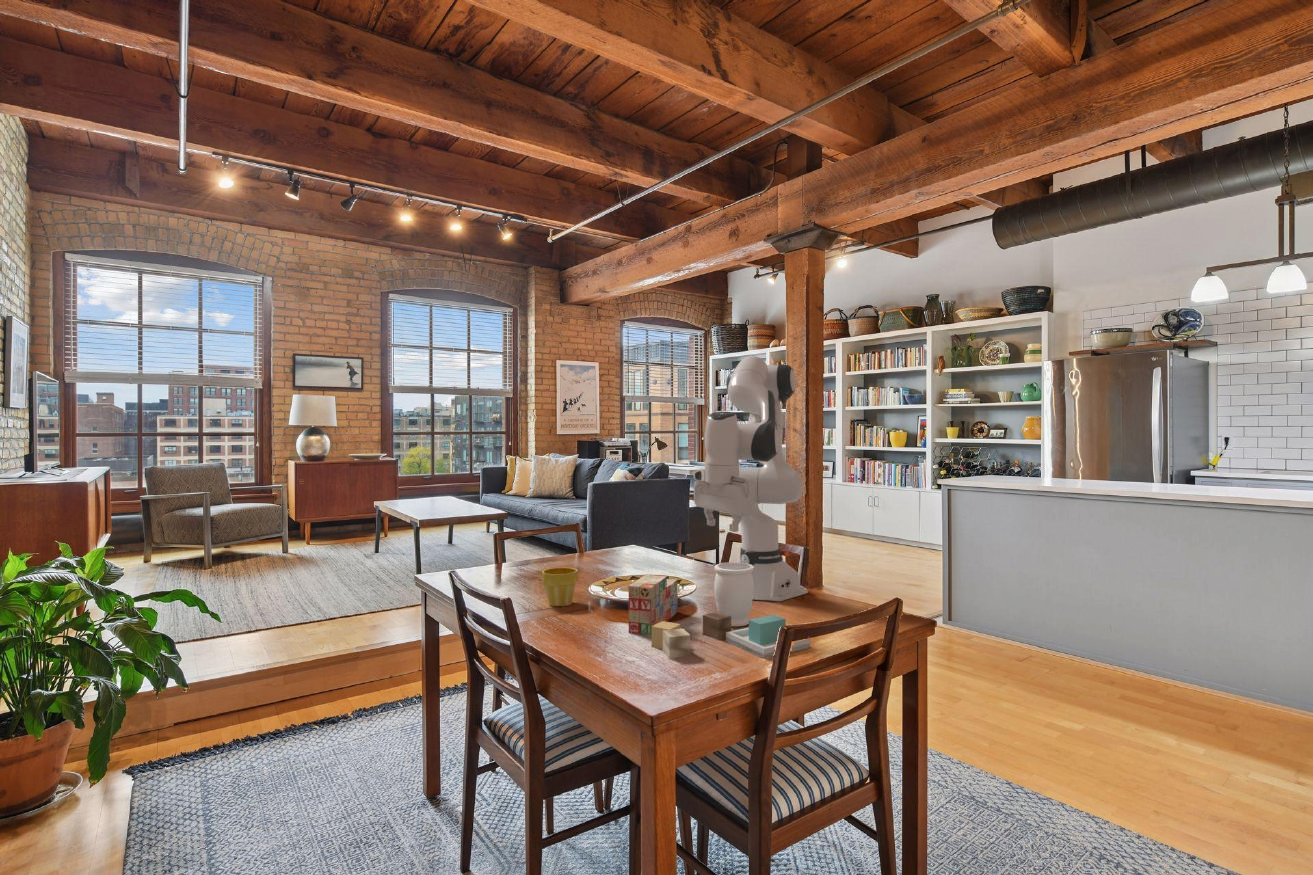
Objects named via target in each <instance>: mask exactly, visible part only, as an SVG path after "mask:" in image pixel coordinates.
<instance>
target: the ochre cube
mask: <svg viewBox="0 0 1313 875" xmlns="http://www.w3.org/2000/svg"><path fill="white" fill-rule="evenodd" d="M681 626H682V625H681V623H676V622H669V621H667V622H666V621H662V622H660V623H657V624H655V625H653V626H652V635H651V648H655V649H660V650H663V630H673V629H682V628H681Z"/></svg>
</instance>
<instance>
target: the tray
mask: <svg viewBox="0 0 1313 875" xmlns="http://www.w3.org/2000/svg"><path fill="white" fill-rule="evenodd" d="M810 640H811V638H810V639H803V640H801V641H797V642H796V643H794V645H793V646H792V652H791V653H793V652H796V651H801V650H806V649H810V646H811V645H810V644H811V643H810V642H811V641H810ZM725 641H726V642H727V643H729V644H731V645H734V646H735V645H736V646H735V647H738V648H740V649H742V650H744V651H746V652H749V653H751V654H753V655H755V656H756V657H759V658H762V659H763V658H765V659H768V658H767V657H769V658H773V657H774V656H773V654H774V652H775V647H776V642H773V643H769V644H764V645H759V644H757V643H754V642H752V641H750V640H749V627H745V628H740V629H736V630H731V631H729V632H726V637H725Z"/></svg>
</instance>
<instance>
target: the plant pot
mask: <svg viewBox="0 0 1313 875" xmlns="http://www.w3.org/2000/svg"><path fill="white" fill-rule="evenodd" d="M541 580H542V582H541V583H542V584H543V585H544V588H545V591H546V592H545V593H546V597H547V601H548V604H549V605H550V606H551V607H556V606H562V607H567V606H570V605H572V604H573V598H574V594H575V588H576V584H577V583H578V580H579V570H578V569H577V568H575V567H568V566H567V567H565V566H562V567H561V566H560V567H559V566H558V567H551V568H545V569H543V570H542V571H541Z"/></svg>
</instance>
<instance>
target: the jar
mask: <svg viewBox="0 0 1313 875" xmlns="http://www.w3.org/2000/svg"><path fill="white" fill-rule="evenodd" d="M753 570H754V566H752V565H750V564H746V563H741V562H735V561H733V562H732V561H731V562H720V563H717V564H715V565H714V571H715V572H716V574H715V578H714V587H713V588H714V589H713V590H714V597H715V607H716V609H717V612H720V613H724V614H727V615H731V627H744V626H747V625H749V620H750V617H749V616H750V613H751V610H752V606H753V600H754V599H753V595H754V582H753V576H752V572H753Z"/></svg>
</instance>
